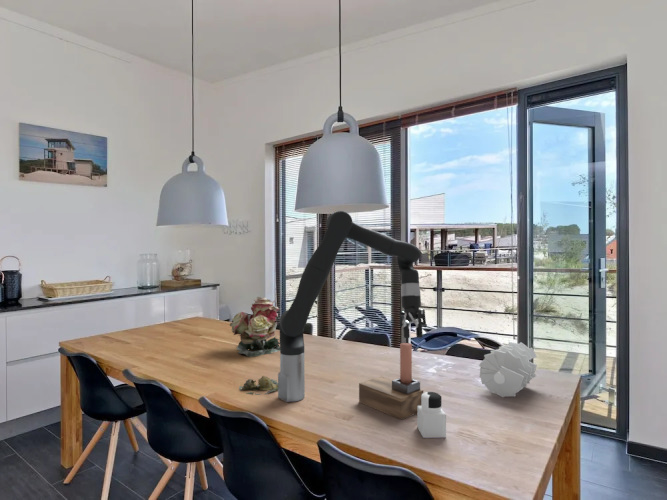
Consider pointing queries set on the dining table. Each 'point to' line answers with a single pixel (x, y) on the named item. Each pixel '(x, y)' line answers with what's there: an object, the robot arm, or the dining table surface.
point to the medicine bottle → (431, 416)
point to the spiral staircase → (508, 369)
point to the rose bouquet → (257, 328)
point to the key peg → (406, 363)
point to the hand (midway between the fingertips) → (413, 337)
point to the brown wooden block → (391, 396)
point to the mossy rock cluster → (260, 385)
